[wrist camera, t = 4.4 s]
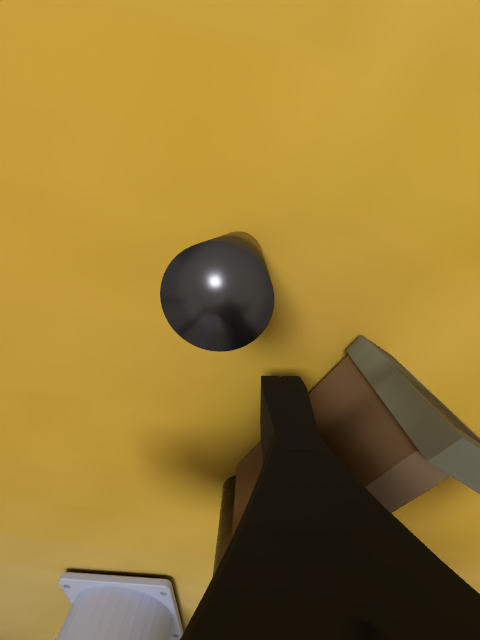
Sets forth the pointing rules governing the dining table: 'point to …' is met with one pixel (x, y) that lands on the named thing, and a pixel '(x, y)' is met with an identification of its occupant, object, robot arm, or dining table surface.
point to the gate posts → (219, 314)
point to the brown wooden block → (381, 431)
